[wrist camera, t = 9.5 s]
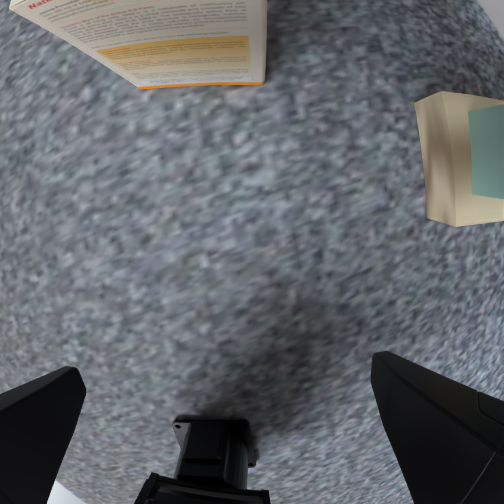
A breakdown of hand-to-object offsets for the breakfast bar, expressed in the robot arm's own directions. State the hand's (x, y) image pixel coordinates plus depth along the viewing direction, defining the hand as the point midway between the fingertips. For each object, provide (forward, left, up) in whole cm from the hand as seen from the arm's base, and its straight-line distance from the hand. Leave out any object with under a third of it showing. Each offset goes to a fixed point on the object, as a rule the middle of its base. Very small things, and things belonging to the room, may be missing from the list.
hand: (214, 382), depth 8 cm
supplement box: (+14, +1, -12) cm, 19 cm away
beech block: (+6, -17, -12) cm, 22 cm away
